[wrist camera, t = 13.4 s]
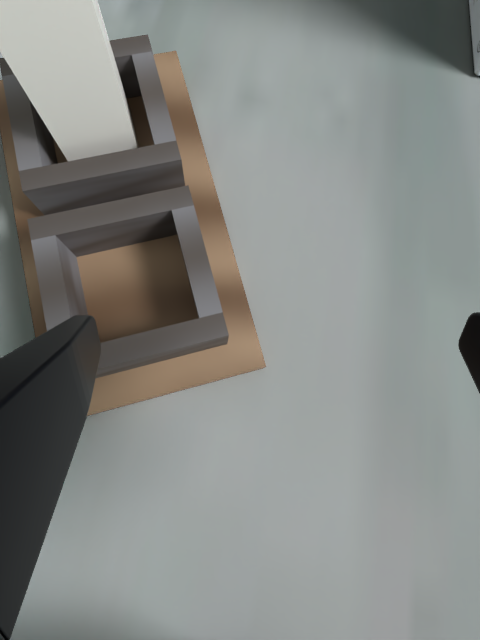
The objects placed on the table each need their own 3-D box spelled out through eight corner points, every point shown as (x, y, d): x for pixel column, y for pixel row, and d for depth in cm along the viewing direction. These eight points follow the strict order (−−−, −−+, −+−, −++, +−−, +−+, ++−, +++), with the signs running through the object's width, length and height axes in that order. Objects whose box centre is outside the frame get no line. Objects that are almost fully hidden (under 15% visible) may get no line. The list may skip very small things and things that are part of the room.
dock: (263, 368, 22) (273, 361, 19) (57, 423, 21) (22, 429, 17) (177, 63, 27) (170, 5, 23) (0, 93, 25) (-39, 37, 21)
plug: (143, 165, 24) (58, -108, 11) (78, 178, 23) (-89, -92, 11) (130, 111, 24) (37, -203, 12) (67, 122, 24) (-101, -192, 11)
